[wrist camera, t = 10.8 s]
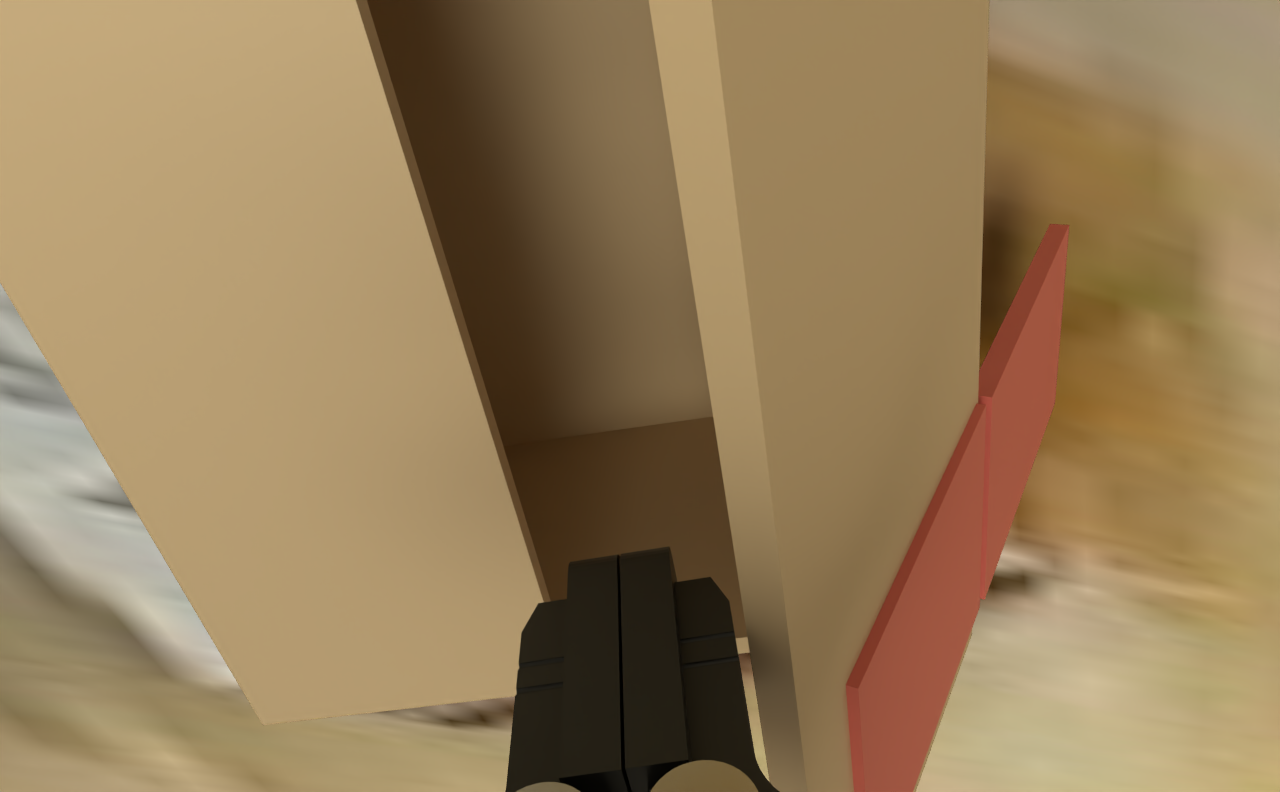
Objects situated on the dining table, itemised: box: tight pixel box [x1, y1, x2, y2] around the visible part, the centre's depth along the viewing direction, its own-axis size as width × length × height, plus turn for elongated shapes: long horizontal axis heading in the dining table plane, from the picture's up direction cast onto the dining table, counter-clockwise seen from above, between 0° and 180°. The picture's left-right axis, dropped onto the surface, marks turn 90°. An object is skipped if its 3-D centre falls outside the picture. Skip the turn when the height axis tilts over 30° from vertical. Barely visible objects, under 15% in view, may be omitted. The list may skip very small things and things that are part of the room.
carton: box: [0, 0, 750, 725], centre depth 25 cm, size 19×20×12 cm
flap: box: [649, 0, 1069, 792], centre depth 19 cm, size 19×18×1 cm
